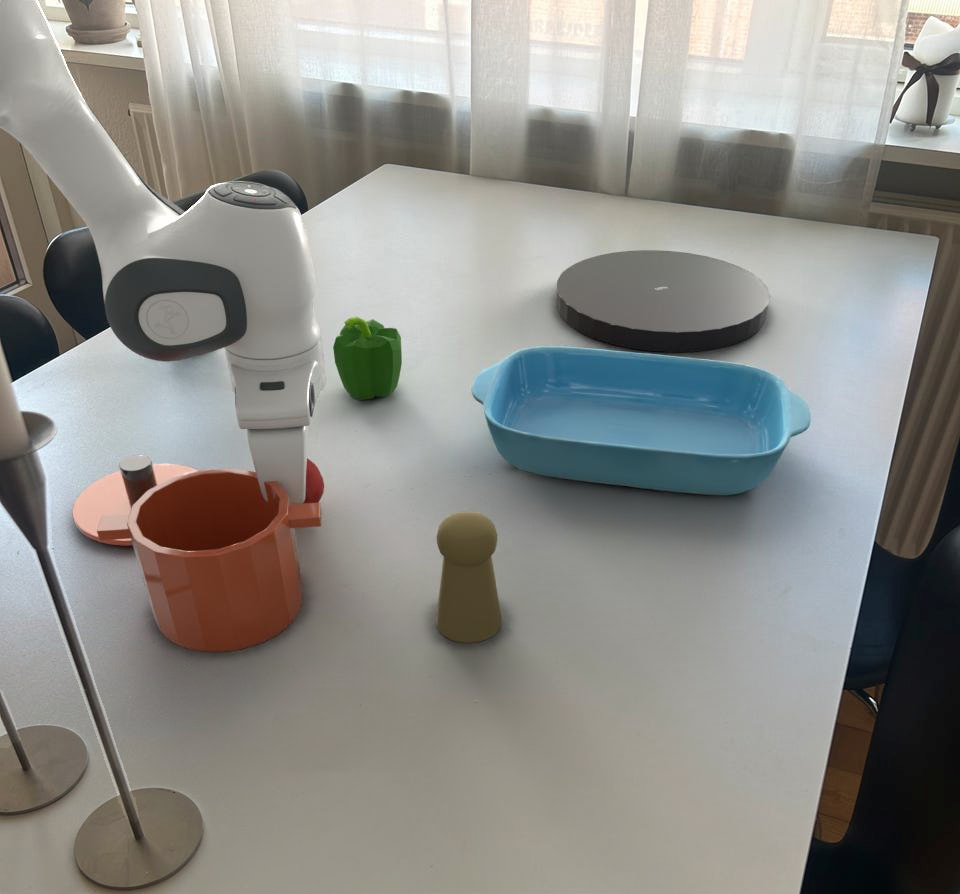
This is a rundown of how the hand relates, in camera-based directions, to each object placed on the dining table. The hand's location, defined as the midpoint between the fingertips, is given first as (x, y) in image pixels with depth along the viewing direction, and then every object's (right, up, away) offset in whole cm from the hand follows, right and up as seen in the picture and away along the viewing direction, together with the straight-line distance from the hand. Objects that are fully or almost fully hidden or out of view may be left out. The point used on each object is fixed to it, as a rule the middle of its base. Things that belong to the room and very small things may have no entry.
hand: (296, 493), depth 102 cm
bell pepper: (+5, +16, +23) cm, 28 cm away
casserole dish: (+36, +6, +12) cm, 39 cm away
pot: (-5, -12, -9) cm, 15 cm away
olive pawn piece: (+18, -13, -11) cm, 25 cm away
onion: (0, -2, +2) cm, 3 cm away
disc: (+45, +33, +42) cm, 69 cm away
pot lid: (-16, -1, +3) cm, 16 cm away
